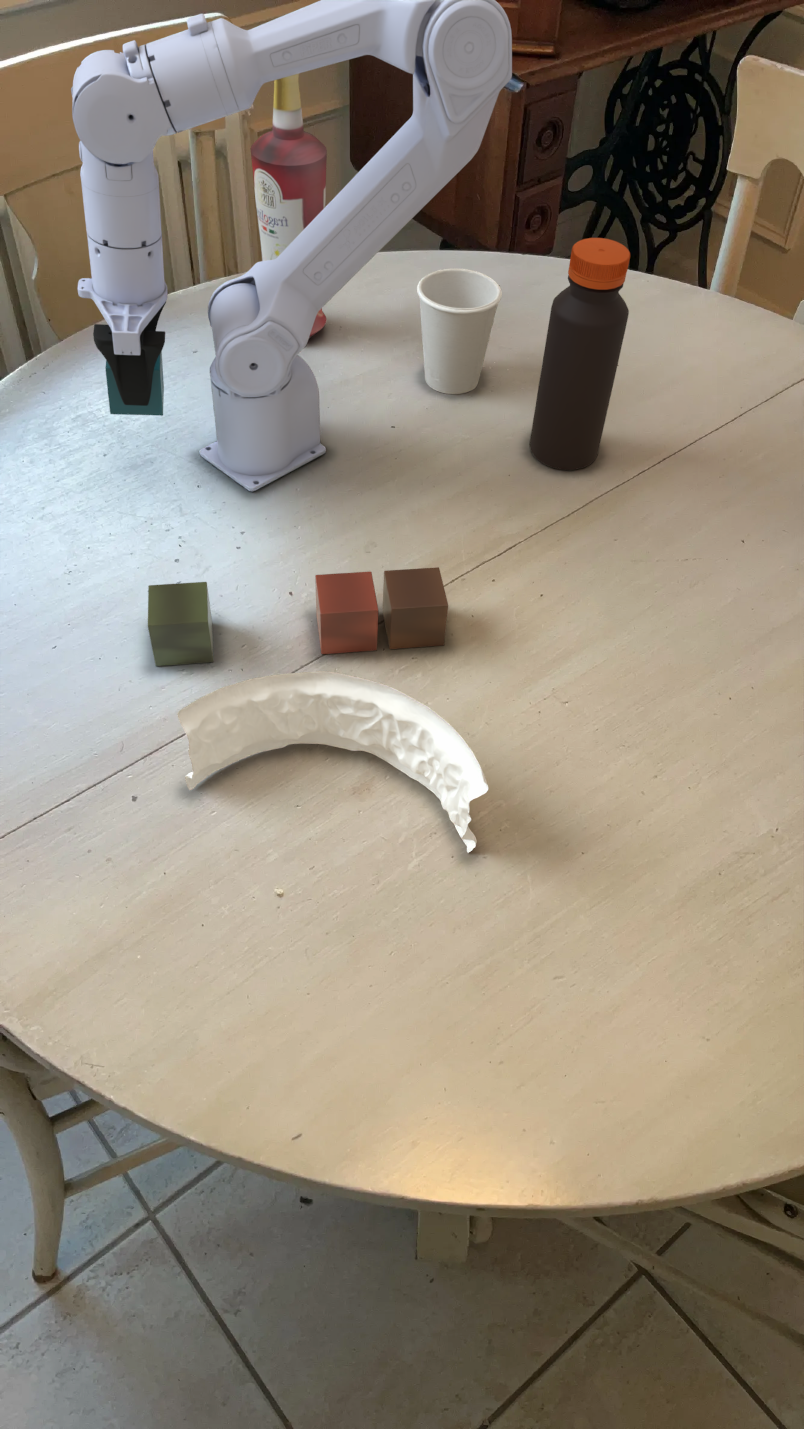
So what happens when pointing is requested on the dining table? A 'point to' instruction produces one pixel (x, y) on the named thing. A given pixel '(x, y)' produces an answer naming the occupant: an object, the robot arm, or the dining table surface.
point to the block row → (340, 612)
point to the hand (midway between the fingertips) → (137, 386)
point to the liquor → (288, 176)
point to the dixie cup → (456, 326)
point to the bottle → (581, 356)
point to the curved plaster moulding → (335, 731)
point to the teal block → (151, 409)
